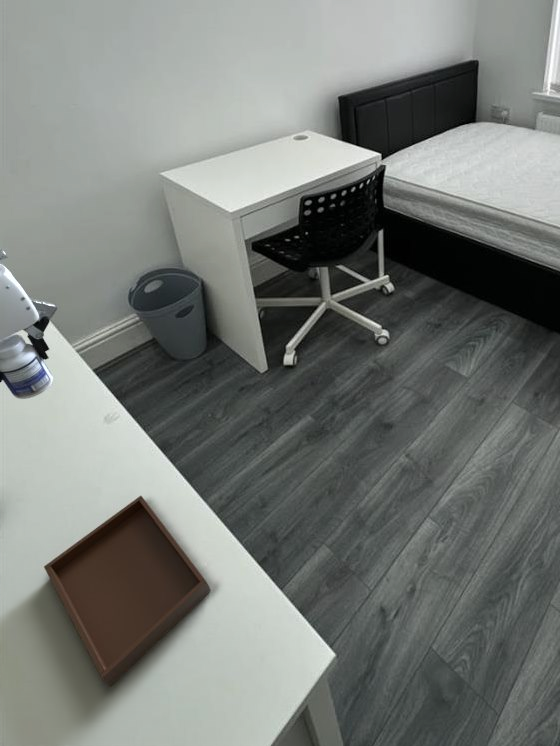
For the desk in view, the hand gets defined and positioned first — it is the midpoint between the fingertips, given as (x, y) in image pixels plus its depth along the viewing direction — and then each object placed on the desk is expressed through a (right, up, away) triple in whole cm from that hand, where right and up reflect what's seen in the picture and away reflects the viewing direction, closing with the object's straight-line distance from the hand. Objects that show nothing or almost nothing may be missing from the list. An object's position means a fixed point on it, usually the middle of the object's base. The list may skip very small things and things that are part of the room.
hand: (20, 365), depth 75 cm
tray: (+22, -29, -8) cm, 37 cm away
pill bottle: (0, -4, +3) cm, 5 cm away
